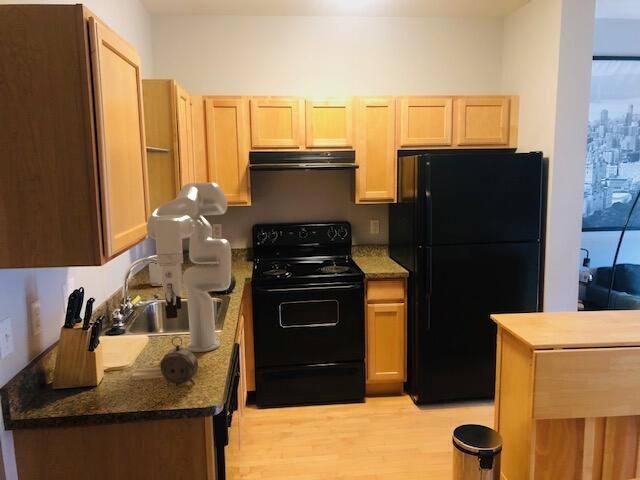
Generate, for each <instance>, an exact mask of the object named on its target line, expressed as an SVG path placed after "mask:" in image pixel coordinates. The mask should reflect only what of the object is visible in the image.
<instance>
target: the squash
mask: <svg viewBox="0 0 640 480" xmlns="http://www.w3.org/2000/svg"><path fill="white" fill-rule="evenodd" d="M236 285H237V279H236V276H235V274H234V273H233V272H231V281H230V286H229V288H228V289H226V290H221V291H212V293H214V292H219V293H222V292H223V293H225V292H229V293H230V292H232V291H234V289H235V287H236Z"/></svg>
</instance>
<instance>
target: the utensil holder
mask: <svg viewBox="0 0 640 480" xmlns="http://www.w3.org/2000/svg"><path fill="white" fill-rule="evenodd" d="M148 258H157V254H156V255H151V256H147V259H148ZM148 269H149V270H148V271H149V282H151V283H158V284H161V283H162V269H161V266H160V265H158V264H155V263H149V262H148ZM151 283H150V284H151Z"/></svg>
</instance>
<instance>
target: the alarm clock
mask: <svg viewBox="0 0 640 480" xmlns="http://www.w3.org/2000/svg"><path fill="white" fill-rule="evenodd" d="M175 339H179V340H180V341H181V343H180V345H179V344H176V345H175V344H174V340H175ZM171 344H172V346H173V347H174V348H172V349H170V350H169V351H167V353H166V354H165V355H164V356H163V357H162V358H161V361H160V366H159V367H160V368H161V372H162V374H163V376H164V377H163V378H164V379H165V380H166V381H167V384H170V383H171V384H174V385H175V389H176V390H177V389H178V388H179V385H183V384H187V383H189V382H190V383H191V384H192V385H193V386H194V385H196V384H195V383H196V382H194V380H193V379H192V378H193V377H194V376H195V375H196V373H197V371H198V370H199V369H198V368H199V361H198V359H197V356H196V354H194V352H191V351H190V350H188V349H187V347H181V346H182V345H183V339H182V338H181V337H180V336H174V337H173V338H172V339H171Z"/></svg>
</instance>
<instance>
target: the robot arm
mask: <svg viewBox="0 0 640 480" xmlns="http://www.w3.org/2000/svg"><path fill="white" fill-rule="evenodd" d="M227 211H228V198H227V196H226V195H225V192H224V191H223V190H222V188H221V187H220V185H218V184H217V183H215V182H211V181H210V182H190V183H187V184H184V185H183V186H182V187H181V189H180V190H179V192H178V194H177V196H176V198H175V199H172V200H170V201H168V202H165V203H164V204H160V205H159V206H158V207H156V208H155V209H154V210H153V211H152V212H151V214H150V216H149V218H148V219H147V223H146V232H147V234H148V236H149V237H150V238H151V239H153V240H155V249H156V255H157V264H158V265H161V269H162V286H163V287H162V293H163V298H165V317H166V319H167V320H169V319H176V318H177V319H178V317H179V315H178V310H181V309H182V295H183V292H184V290H185V293H186V294H185V295H186V300H187V313H188V315H187V316H188V326H189V327H188V328H189V340H190V341H189V342H187V344H186V347H185V348H186V349H188V350H190V351H191V352H192V353H204V352H211V351H213V350H216V349H217V348H219V347H220V345H221V341H220V340H219V339H218V338H216V325H215V324H216V323H215V308H214V300H213V298H212V297H211V295H210V293H208V292H213V291H221V290H226V289H228V288H229V286H230V281H231V273H232V248H231V244H230V242H229V240H227V239H225V238H213V227H212V225H211V223H210V222H209V221H208V220H207V219H206V218H205V217H204V216H221V215H224V214H225V213H226V212H227ZM188 238H189V246H188V247H189V248H188V249H189V250H188V258H189V260H190V262H192V264H199V265H194V266H191V267H187V268H186V269H185V271H183V270H182V264H184V255H183V240H184V239H185V240H186V239H188ZM200 264H201V265H200ZM203 264H205V265H203ZM206 264H209V265H206ZM210 264H216V265H210ZM217 264H218V265H217ZM182 271H183V272H182Z"/></svg>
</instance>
